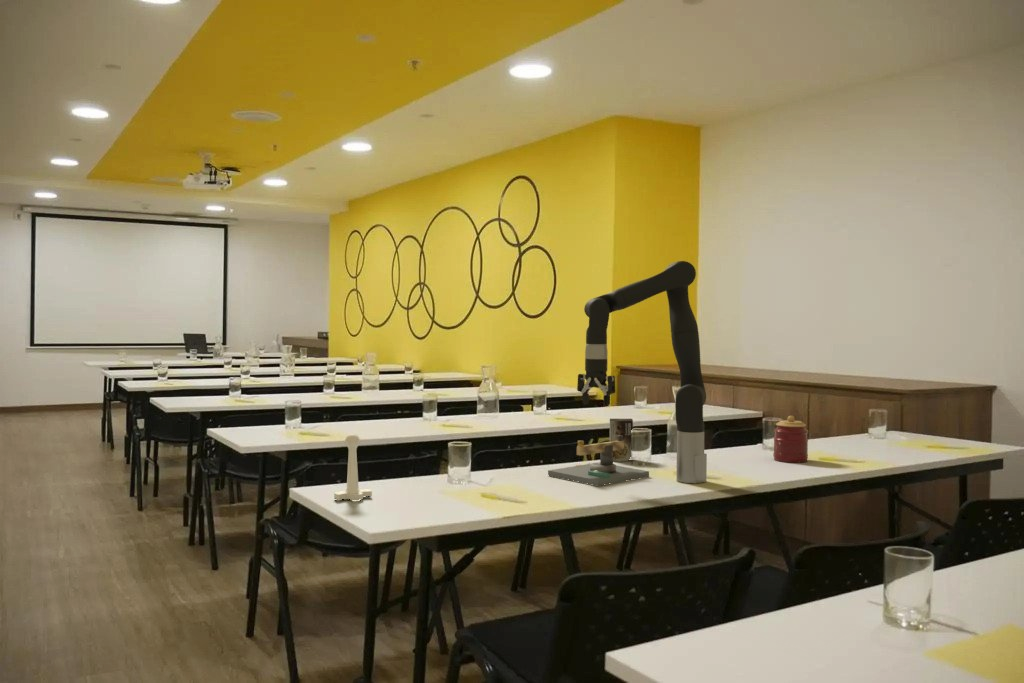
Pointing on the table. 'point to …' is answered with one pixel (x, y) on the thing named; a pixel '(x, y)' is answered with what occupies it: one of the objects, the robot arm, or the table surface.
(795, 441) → the canister
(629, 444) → the coffee box
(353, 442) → the joystick
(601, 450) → the wooden pivot lever
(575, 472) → the board
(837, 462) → the table surface
